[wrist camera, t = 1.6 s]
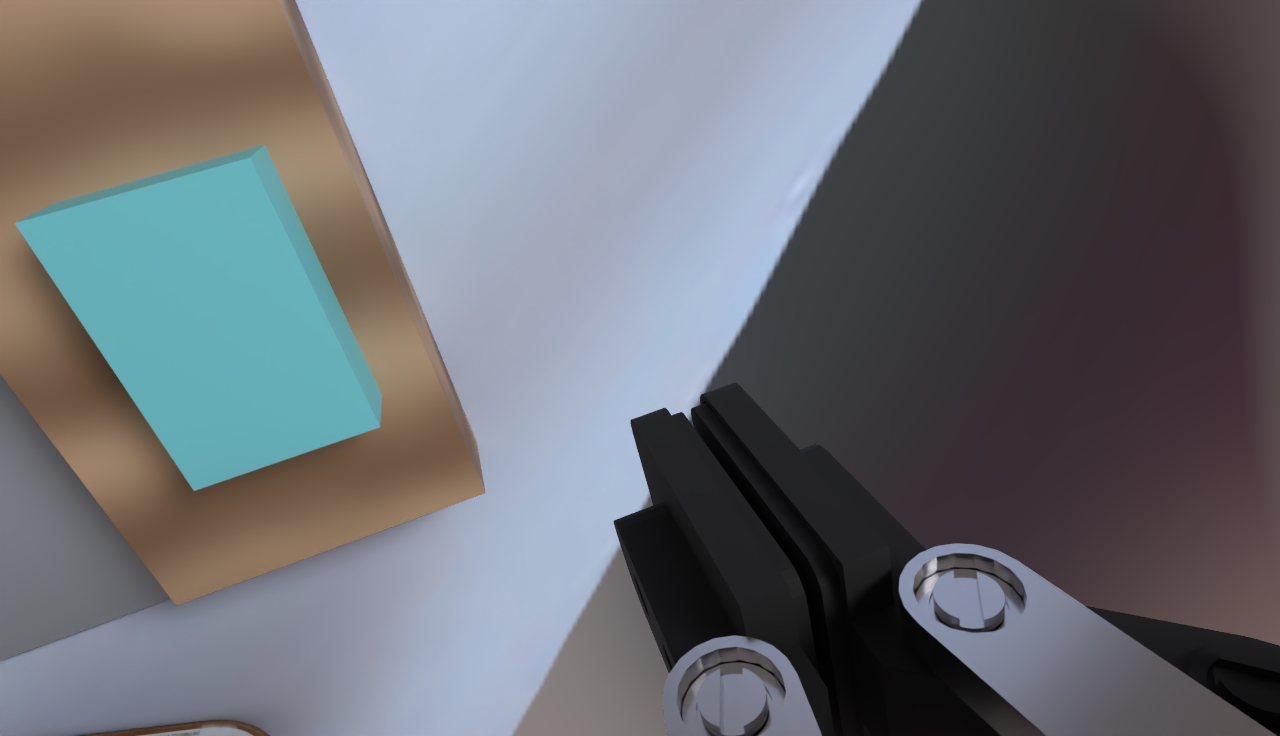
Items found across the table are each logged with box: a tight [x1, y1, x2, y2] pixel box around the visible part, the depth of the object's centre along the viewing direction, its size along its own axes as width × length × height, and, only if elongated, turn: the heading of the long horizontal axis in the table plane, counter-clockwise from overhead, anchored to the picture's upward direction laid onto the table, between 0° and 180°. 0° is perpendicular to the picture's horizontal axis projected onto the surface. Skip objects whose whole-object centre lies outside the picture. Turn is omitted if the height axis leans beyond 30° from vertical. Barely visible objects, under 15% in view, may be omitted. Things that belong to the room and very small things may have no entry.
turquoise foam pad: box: [15, 145, 382, 491], centre depth 22 cm, size 9×6×2 cm, turn 14°
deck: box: [0, 0, 485, 606], centre depth 25 cm, size 20×12×4 cm, turn 14°
